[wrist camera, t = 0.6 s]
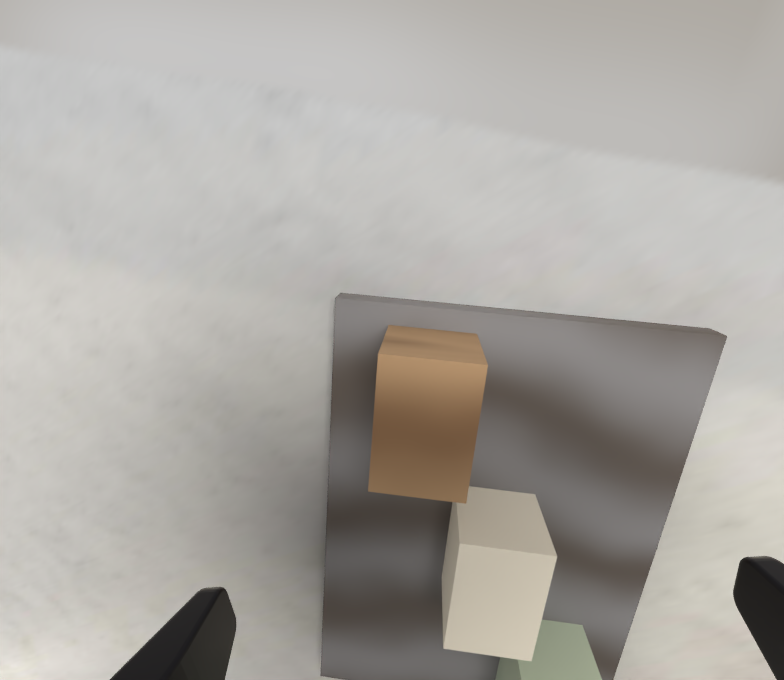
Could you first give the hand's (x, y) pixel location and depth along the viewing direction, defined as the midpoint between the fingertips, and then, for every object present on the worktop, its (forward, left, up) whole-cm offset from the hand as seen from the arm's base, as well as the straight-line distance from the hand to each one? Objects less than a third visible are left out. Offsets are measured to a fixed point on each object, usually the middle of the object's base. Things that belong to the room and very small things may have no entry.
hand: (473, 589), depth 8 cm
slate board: (-10, -3, -14) cm, 17 cm away
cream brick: (-10, -3, -13) cm, 16 cm away
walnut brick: (-2, +1, -13) cm, 13 cm away
